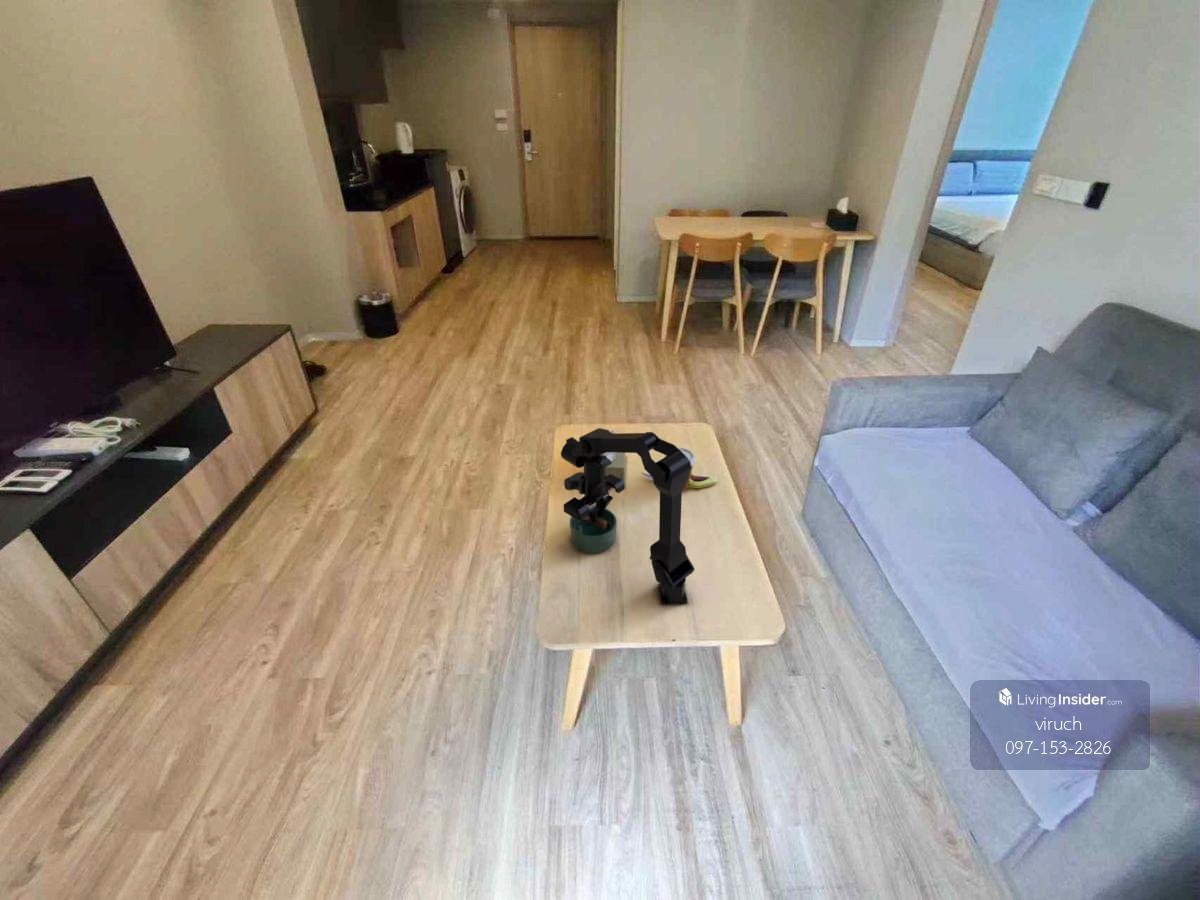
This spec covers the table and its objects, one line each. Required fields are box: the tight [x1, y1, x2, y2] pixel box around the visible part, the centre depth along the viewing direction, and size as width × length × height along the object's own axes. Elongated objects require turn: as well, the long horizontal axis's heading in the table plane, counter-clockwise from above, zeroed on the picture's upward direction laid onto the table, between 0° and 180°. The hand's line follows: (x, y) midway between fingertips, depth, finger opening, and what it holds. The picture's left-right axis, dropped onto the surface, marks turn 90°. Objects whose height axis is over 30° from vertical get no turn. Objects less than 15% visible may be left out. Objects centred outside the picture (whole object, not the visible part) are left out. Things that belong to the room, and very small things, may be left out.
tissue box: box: [602, 429, 627, 489], centre depth 176 cm, size 19×10×16 cm, turn 176°
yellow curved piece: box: [640, 470, 719, 489], centre depth 175 cm, size 8×3×25 cm
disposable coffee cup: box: [664, 447, 696, 492], centre depth 170 cm, size 10×10×12 cm
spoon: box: [581, 515, 607, 530], centre depth 149 cm, size 9×4×2 cm, turn 48°
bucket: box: [569, 508, 618, 554], centre depth 151 cm, size 13×13×6 cm
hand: (595, 520), depth 148 cm, fingers closed on spoon, 1 cm apart
